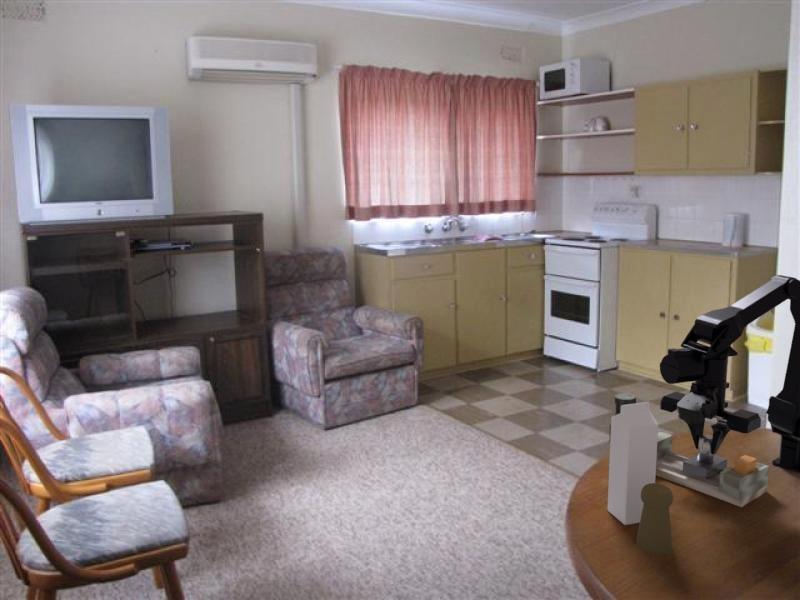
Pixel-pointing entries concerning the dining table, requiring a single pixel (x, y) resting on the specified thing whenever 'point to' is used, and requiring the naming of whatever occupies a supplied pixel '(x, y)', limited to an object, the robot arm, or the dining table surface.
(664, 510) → the olive pawn
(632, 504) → the milk
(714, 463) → the carriage
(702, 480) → the rail track
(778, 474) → the dining table surface
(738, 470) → the orange block
